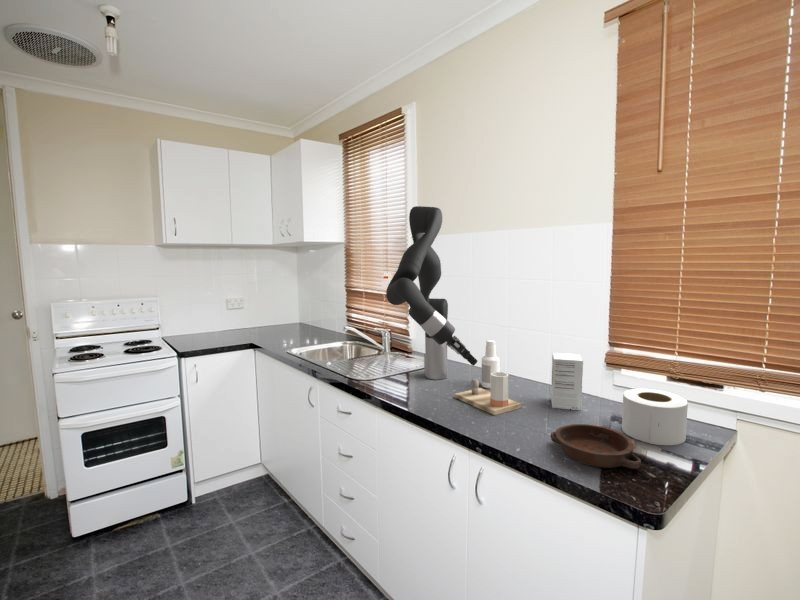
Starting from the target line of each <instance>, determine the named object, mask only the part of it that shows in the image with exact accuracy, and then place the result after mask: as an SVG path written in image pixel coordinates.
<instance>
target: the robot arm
mask: <svg viewBox="0 0 800 600" xmlns="http://www.w3.org/2000/svg"><path fill="white" fill-rule="evenodd" d="M442 212H443V211H442V210H441V209H440V208H439V207H436V206H421V205H419V206H413V207H411V209H410V211H409V216H408V221H409V229H410V232H411V233H410V234H411V238H412V244H411V245H410V246H408V248H407V249H405V251H404V253H403V254H402V257H401V260H400V262H399V264H398V267H397V270H396V271H395V273H394V275H393V276H392V277H391V280H390V282H389V283H388V284H387V287H386V292H385V296H386V300H387V301H388V302H389V303H390V304H391V305H393V306H400V305H402V304H404V303H405V302H406V303H407V304H408V306H409V309H408V314H409V316H410V318H411V319H412V320H414V321H415V322H416V323H417V324H418V325H419V326H420V327H421V329H422V330H423V331H424V335H425V337H424V341H425V343H424V346H425V349H424V355H423V356H424V357H423V359H424V360H423V361H424V362H423V363H424V364H423V365H424V366H423V368H424V369H423V371H424V373H423V374H424V376H425V378H427V379H430V380H444V379H447V378H448V348H450V349H451V350H453V352H455V353H456V354H457V355H460V356H461V357H462V358H463V359H464V360H466V361H467V362H468V363H469V364H470V365H472V366H475V365H476V364H477V363H478V360H477V359H476V358H475V356H473V355H472V354H471V351H470V350H469V349H467V347H466V345H465V344H464V343H463V342H462V341H461V340H460V339H459V338H458V337H457V336H456V335H453V334H454V333H455V332H456V328H455V327H454V325H452V323H450V322H449V321H448V315H449V308H448V307H449V304H448V301H447V299H446V298H430V295H431V293H432V291H433V289H434V288H435V287H436V286H437V284H438V283H439V282H440V280H441V277H442V267H441V266H442V263H441V258H440V257H439V255H438V253H437V252H436V251H435V249H434V248H433V247H432V246H433V244H434V242H435V240H436V238H437V237H438V234H439V232H440V230H441V228H442V225H443V213H442ZM417 278H418V284H419V287H418V285H417V284H416V283H415V280H416V279H417Z"/></svg>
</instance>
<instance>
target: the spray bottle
mask: <svg viewBox="0 0 800 600" xmlns="http://www.w3.org/2000/svg"><path fill="white" fill-rule="evenodd" d="M500 359H501V358H500V357H499V356H497V345H496V340H493V339H488V340H486V344H485V355H484V356H482V357H481V385H480V386H481V387H482V388H485V389H490V390H491V373H493V372H501V371H500V370H501V369H500V367H501V366H500V364H501V363H500V362H501V361H500Z"/></svg>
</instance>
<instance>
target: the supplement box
mask: <svg viewBox="0 0 800 600" xmlns="http://www.w3.org/2000/svg"><path fill="white" fill-rule="evenodd" d="M551 356H552V357H551V361H552V362H551V384H550V385H551V393H550V395H551V396H550V400H551V408H552V409H560V410H561V409H563V410H570V409H571V410H572V411H580V410H581V411H582V402H583V401H582V398H583V397H582V396H583V375H584V374H583V373H584V360H583V359H582V355H581V354H578V353H563V352H552V354H551Z"/></svg>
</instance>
